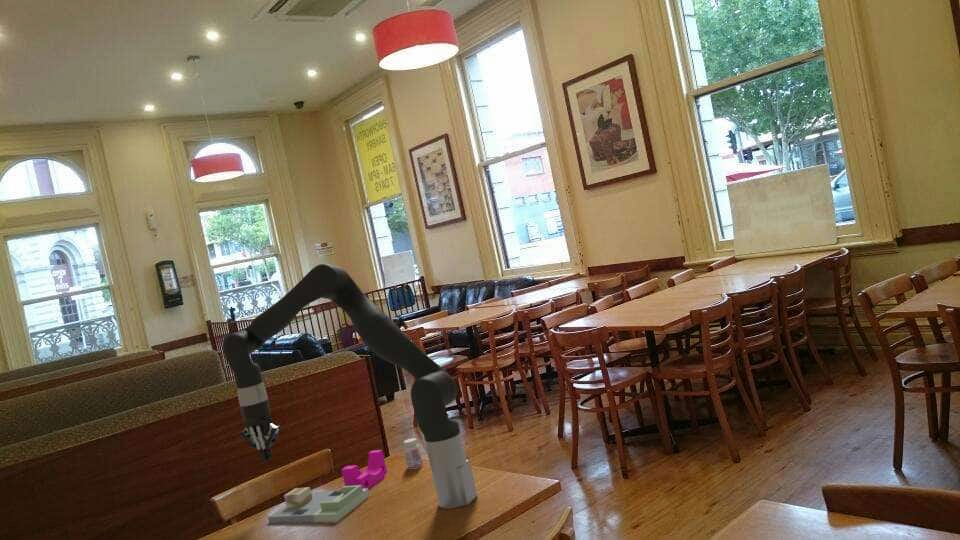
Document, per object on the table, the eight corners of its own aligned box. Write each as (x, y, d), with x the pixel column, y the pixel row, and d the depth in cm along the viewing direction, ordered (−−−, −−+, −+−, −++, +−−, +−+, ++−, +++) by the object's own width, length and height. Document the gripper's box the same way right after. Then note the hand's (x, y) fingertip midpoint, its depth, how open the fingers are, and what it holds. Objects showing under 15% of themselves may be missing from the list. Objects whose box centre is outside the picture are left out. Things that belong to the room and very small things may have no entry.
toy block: (364, 494, 191) (358, 468, 191) (347, 494, 194) (341, 469, 194) (394, 473, 204) (388, 449, 204) (377, 474, 207) (372, 450, 207)
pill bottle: (417, 470, 202) (411, 442, 202) (404, 470, 205) (398, 443, 205) (426, 464, 206) (420, 437, 206) (414, 464, 209) (408, 437, 209)
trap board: (370, 497, 187) (366, 481, 187) (337, 523, 172) (333, 506, 172) (306, 500, 196) (303, 485, 195) (269, 526, 181) (266, 509, 181)
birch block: (312, 499, 188) (309, 487, 188) (301, 507, 183) (298, 494, 183) (298, 500, 190) (295, 488, 190) (286, 507, 185) (284, 495, 185)
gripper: (281, 394, 189) (294, 454, 190) (245, 399, 195) (258, 457, 195) (263, 402, 183) (276, 464, 183) (226, 407, 188) (239, 467, 188)
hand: (267, 460), depth 189 cm, fingers closed
